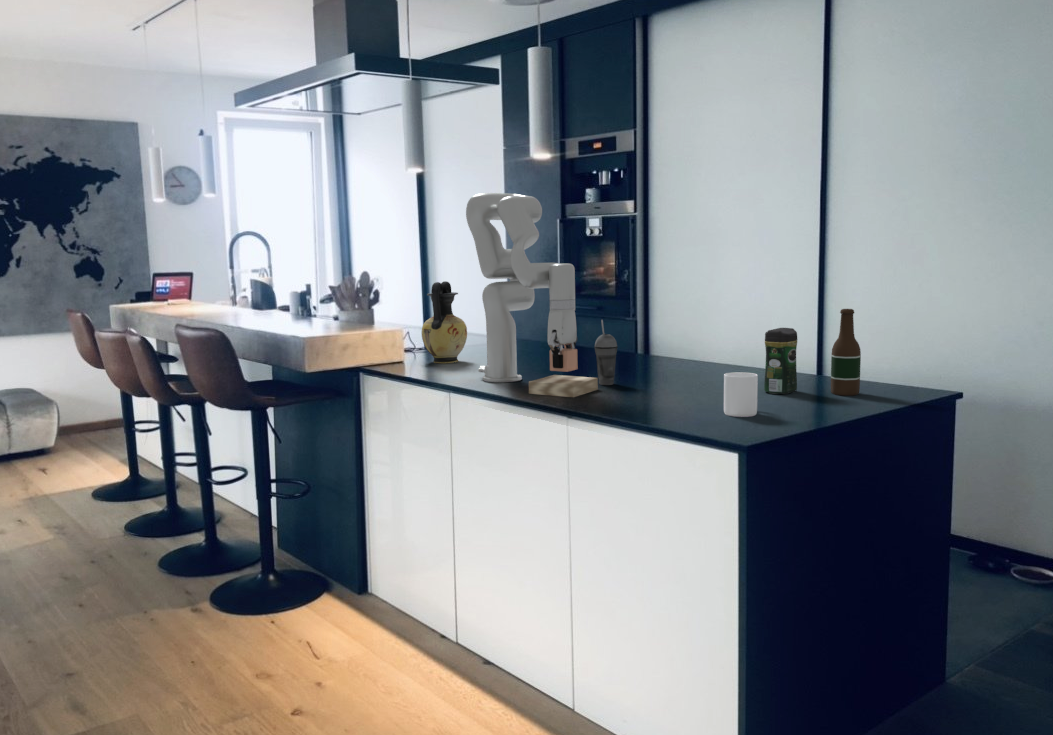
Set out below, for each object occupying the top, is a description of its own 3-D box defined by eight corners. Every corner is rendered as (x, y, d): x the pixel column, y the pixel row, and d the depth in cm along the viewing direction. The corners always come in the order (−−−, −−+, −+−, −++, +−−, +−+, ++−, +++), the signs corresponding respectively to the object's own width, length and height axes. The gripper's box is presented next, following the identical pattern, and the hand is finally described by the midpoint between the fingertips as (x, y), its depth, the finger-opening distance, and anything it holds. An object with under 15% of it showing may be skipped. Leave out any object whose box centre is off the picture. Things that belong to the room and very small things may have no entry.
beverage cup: (616, 385, 283) (616, 320, 280) (593, 385, 284) (592, 320, 282) (619, 382, 290) (618, 318, 287) (596, 381, 292) (595, 318, 289)
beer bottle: (859, 391, 264) (862, 308, 261) (859, 396, 257) (862, 310, 254) (830, 390, 267) (832, 307, 264) (830, 395, 260) (832, 310, 256)
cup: (718, 415, 235) (718, 375, 233) (737, 407, 244) (738, 369, 243) (748, 418, 230) (749, 377, 228) (767, 410, 239) (768, 371, 238)
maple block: (528, 395, 272) (528, 381, 272) (554, 387, 285) (554, 374, 285) (573, 398, 265) (573, 385, 264) (597, 391, 277) (597, 377, 277)
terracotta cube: (549, 370, 273) (549, 350, 272) (560, 368, 278) (559, 348, 277) (567, 371, 270) (567, 351, 269) (577, 369, 275) (577, 349, 274)
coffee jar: (776, 388, 273) (777, 325, 270) (800, 391, 267) (802, 327, 265) (759, 392, 266) (760, 328, 263) (784, 395, 261) (785, 330, 258)
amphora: (427, 359, 355) (425, 280, 351) (471, 358, 354) (469, 280, 350) (418, 365, 338) (415, 283, 334) (463, 365, 336) (461, 282, 332)
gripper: (565, 303, 280) (566, 362, 283) (536, 307, 266) (537, 369, 268) (587, 304, 277) (588, 363, 279) (558, 308, 262) (560, 371, 264)
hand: (563, 366), depth 274 cm, fingers closed on terracotta cube, 6 cm apart
